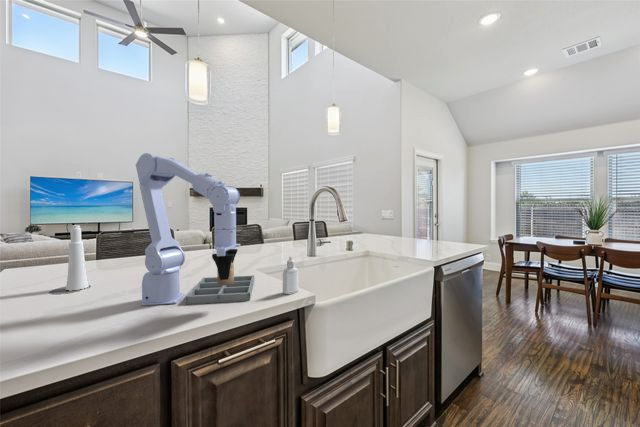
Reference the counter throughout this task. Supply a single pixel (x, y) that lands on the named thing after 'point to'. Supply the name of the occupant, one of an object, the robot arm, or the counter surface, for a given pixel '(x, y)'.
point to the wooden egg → (230, 279)
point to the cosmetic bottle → (76, 262)
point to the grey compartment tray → (221, 290)
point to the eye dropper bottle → (290, 278)
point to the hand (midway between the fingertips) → (225, 277)
